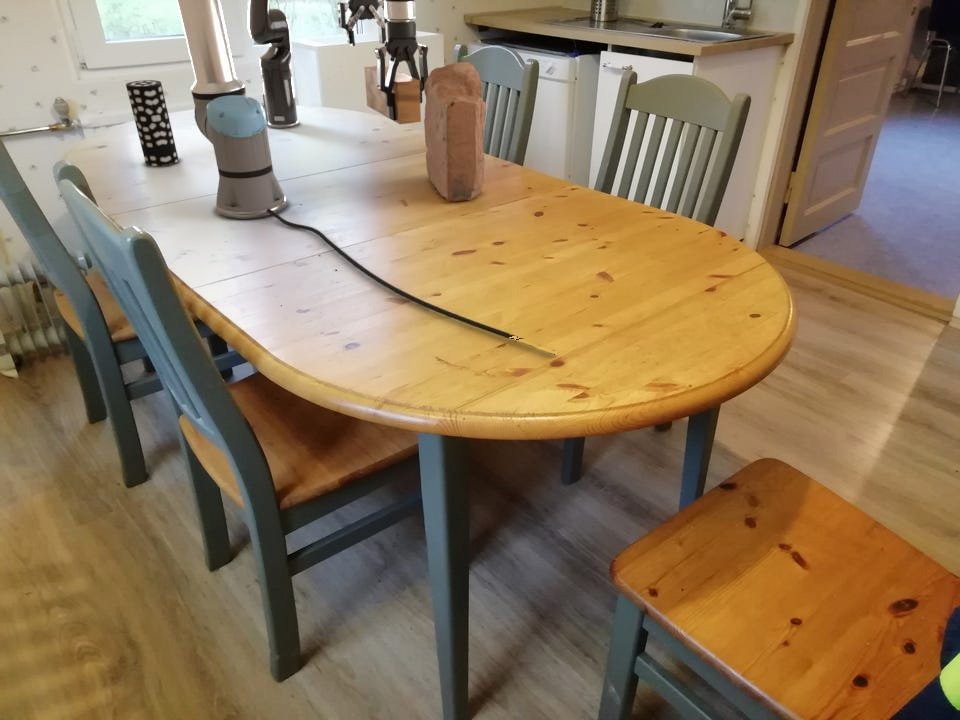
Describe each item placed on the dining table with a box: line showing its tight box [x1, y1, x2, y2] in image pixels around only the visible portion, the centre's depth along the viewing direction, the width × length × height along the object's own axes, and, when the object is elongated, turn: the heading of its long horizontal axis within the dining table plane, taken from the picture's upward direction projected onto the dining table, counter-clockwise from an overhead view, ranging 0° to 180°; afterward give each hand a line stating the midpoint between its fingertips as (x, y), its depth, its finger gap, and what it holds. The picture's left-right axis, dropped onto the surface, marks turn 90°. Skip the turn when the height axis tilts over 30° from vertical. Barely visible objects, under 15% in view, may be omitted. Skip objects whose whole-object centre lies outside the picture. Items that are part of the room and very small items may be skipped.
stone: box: [423, 61, 487, 202], centre depth 163 cm, size 22×11×28 cm, turn 18°
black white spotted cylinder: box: [125, 79, 179, 167], centre depth 181 cm, size 8×8×20 cm
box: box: [364, 65, 422, 125], centre depth 184 cm, size 23×6×10 cm, turn 29°
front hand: (404, 117), depth 180 cm, fingers closed on box, 6 cm apart
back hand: (367, 44), depth 186 cm, fingers open, 8 cm apart
